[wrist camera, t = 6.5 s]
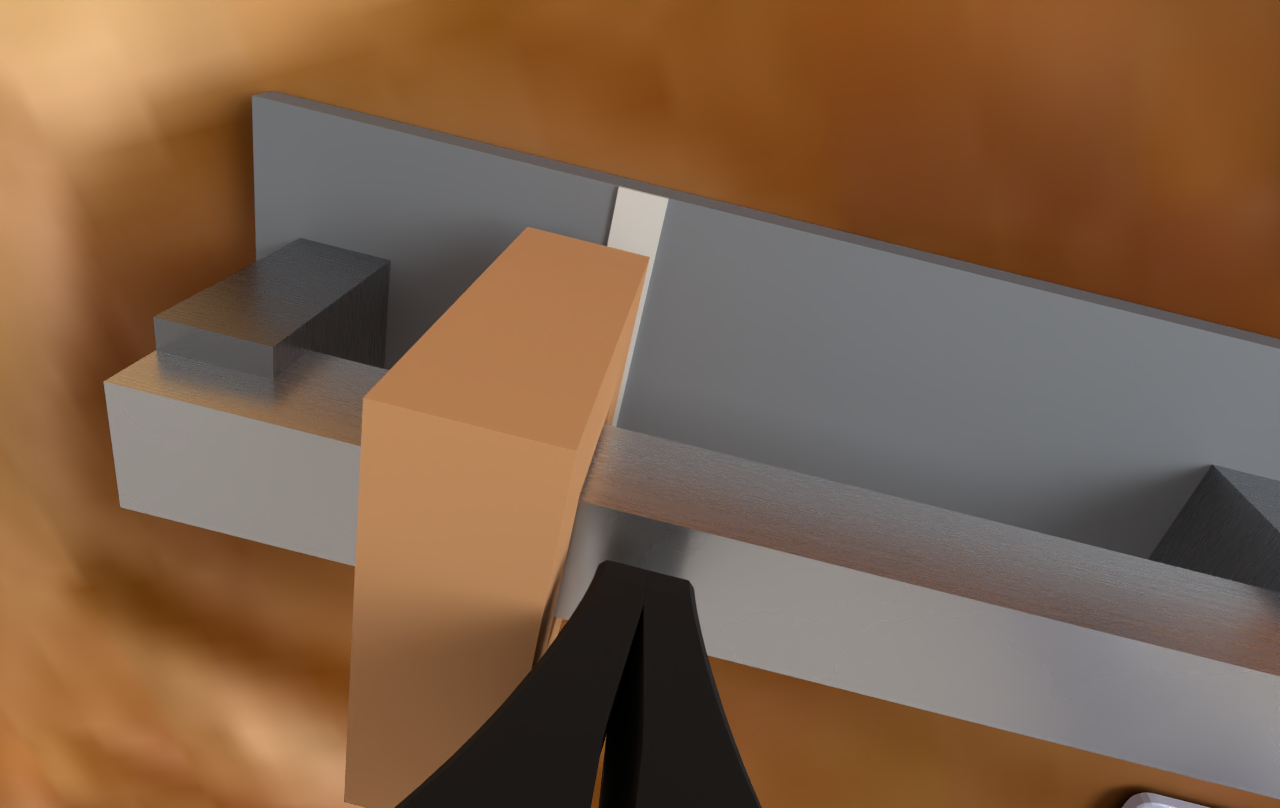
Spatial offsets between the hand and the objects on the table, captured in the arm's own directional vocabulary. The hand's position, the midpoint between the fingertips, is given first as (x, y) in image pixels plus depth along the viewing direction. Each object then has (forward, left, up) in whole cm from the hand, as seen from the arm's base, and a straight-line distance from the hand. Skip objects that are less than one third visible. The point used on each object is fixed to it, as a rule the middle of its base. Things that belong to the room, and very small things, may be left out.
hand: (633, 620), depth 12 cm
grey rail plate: (-2, 0, -8) cm, 8 cm away
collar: (+2, 0, -6) cm, 6 cm away
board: (-2, 0, -8) cm, 8 cm away
